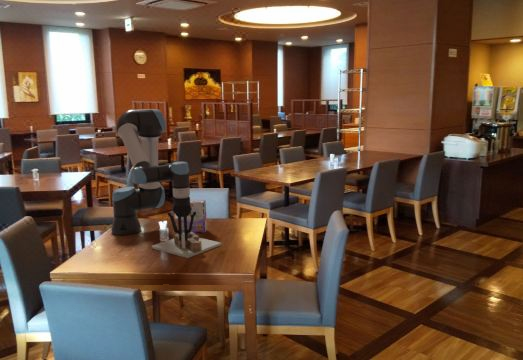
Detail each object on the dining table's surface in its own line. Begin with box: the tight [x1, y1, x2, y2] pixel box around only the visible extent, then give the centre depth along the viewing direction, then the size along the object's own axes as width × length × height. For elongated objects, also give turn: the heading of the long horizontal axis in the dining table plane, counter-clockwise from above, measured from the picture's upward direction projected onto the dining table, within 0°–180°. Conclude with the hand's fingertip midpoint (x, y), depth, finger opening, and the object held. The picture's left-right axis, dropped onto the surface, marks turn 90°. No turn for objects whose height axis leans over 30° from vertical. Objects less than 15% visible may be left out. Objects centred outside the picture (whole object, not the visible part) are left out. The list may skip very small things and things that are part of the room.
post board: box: [151, 227, 222, 259], centre depth 218 cm, size 24×22×9 cm
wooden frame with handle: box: [173, 232, 200, 252], centre depth 215 cm, size 18×9×4 cm, turn 28°
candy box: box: [181, 199, 208, 234], centre depth 243 cm, size 14×6×16 cm, turn 84°
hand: (183, 247), depth 211 cm, fingers closed
